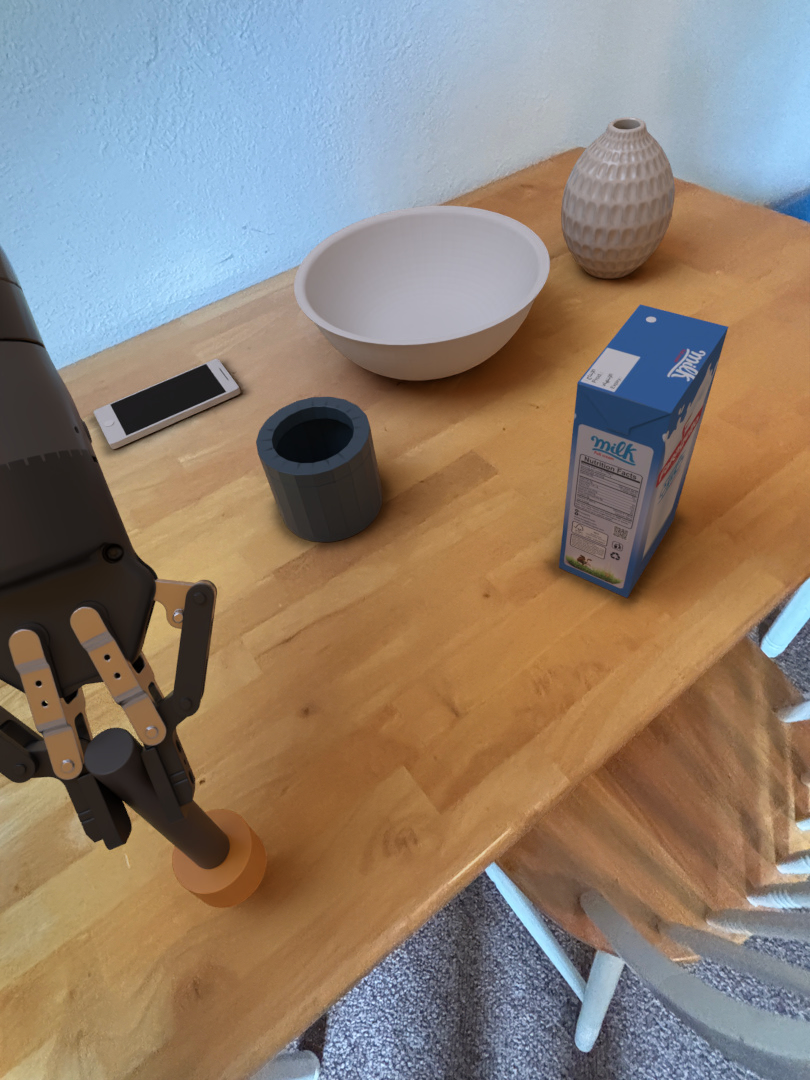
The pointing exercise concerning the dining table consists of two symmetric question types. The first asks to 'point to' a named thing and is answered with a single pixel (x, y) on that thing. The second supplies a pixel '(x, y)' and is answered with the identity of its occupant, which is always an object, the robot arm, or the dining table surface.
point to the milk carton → (635, 443)
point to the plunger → (183, 826)
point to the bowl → (423, 288)
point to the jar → (321, 468)
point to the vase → (618, 200)
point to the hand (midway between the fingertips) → (151, 825)
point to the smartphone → (165, 403)
